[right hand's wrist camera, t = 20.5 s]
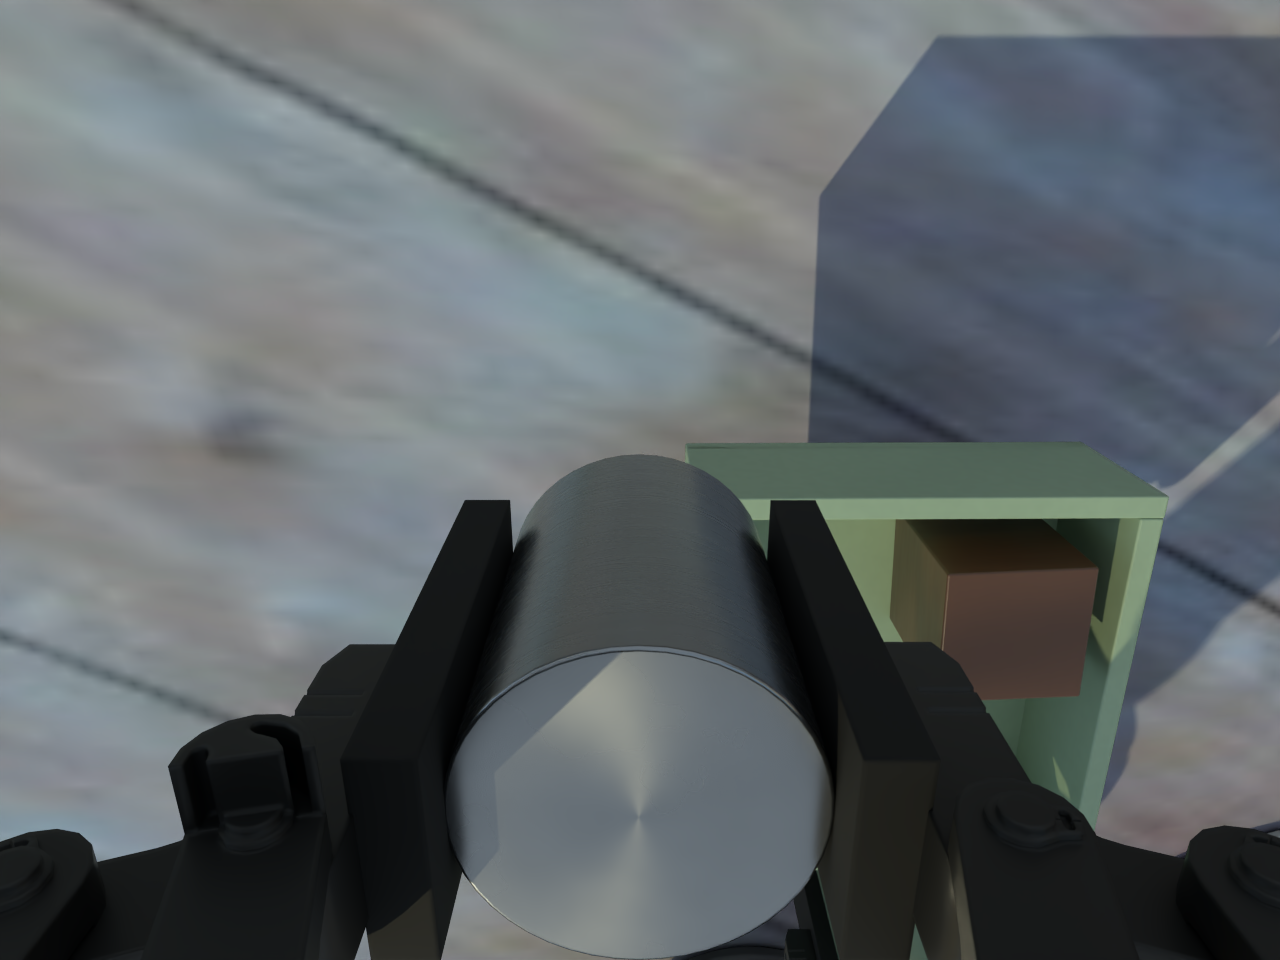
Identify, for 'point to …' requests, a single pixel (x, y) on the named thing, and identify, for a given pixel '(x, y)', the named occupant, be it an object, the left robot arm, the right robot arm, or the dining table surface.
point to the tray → (982, 489)
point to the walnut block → (996, 602)
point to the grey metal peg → (638, 724)
